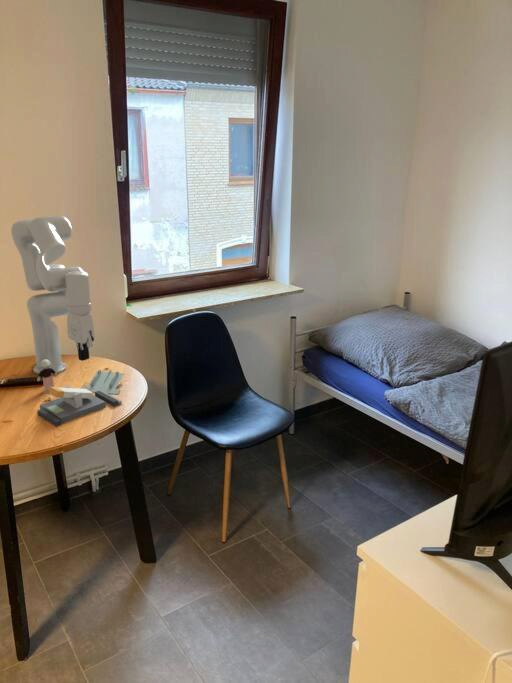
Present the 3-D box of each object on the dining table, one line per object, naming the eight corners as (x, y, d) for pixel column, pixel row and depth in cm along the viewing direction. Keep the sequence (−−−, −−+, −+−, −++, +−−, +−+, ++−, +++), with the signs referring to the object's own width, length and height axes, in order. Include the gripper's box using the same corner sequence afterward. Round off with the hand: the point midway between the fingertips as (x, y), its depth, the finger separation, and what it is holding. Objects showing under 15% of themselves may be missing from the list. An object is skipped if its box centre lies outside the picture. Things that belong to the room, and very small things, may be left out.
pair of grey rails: (38, 415, 183) (37, 410, 183) (101, 393, 201) (100, 388, 200) (57, 428, 175) (57, 423, 175) (121, 403, 193) (121, 399, 192)
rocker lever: (47, 392, 183) (49, 386, 183) (83, 393, 194) (84, 388, 194) (57, 398, 179) (58, 391, 179) (93, 399, 190) (94, 393, 190)
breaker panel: (40, 410, 187) (38, 391, 185) (84, 394, 199) (82, 377, 197) (61, 423, 178) (59, 404, 176) (105, 406, 190) (104, 388, 188)
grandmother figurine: (53, 386, 205) (50, 355, 201) (60, 389, 203) (57, 357, 199) (36, 393, 199) (32, 361, 195) (43, 396, 197) (39, 364, 193)
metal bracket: (92, 365, 211) (128, 368, 209) (95, 377, 215) (131, 380, 213) (77, 389, 200) (115, 393, 198) (80, 401, 203) (118, 404, 201)
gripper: (57, 306, 183) (62, 356, 189) (81, 315, 174) (86, 368, 180) (77, 302, 188) (81, 351, 194) (102, 310, 179) (105, 362, 185)
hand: (84, 359), depth 187 cm, fingers closed
